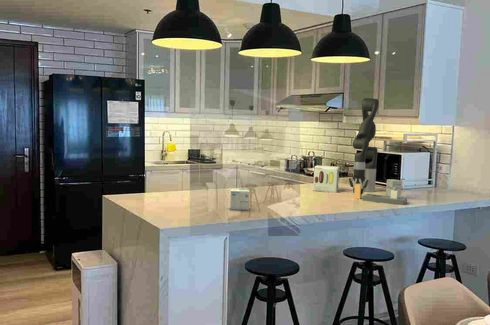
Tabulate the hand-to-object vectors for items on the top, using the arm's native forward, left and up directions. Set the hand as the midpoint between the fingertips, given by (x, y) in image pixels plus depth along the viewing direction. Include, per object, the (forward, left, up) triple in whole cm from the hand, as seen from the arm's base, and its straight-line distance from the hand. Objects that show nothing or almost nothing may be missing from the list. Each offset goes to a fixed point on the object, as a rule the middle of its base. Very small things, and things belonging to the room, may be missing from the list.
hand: (358, 193), depth 325 cm
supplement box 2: (-19, +19, -4) cm, 27 cm away
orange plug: (0, 0, -3) cm, 3 cm away
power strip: (0, +18, -3) cm, 18 cm away
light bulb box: (+84, -43, -4) cm, 94 cm away
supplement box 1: (-19, -30, -4) cm, 36 cm away
